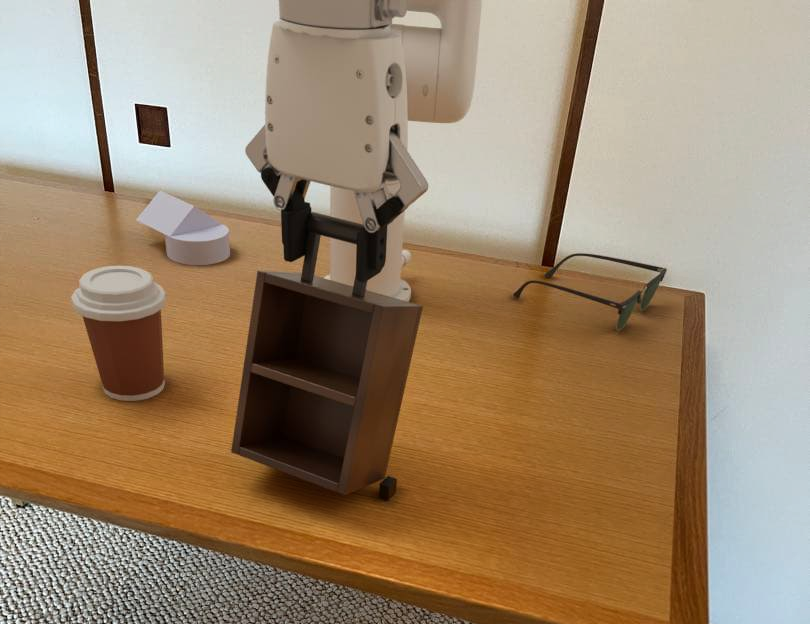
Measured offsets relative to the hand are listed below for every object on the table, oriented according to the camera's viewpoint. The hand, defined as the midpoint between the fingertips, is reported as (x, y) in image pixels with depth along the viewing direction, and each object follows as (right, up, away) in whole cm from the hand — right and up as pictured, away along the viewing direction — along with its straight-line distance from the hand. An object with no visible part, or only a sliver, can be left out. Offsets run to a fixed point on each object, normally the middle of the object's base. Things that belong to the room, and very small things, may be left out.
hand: (333, 264), depth 66 cm
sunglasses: (+31, +11, +48) cm, 58 cm away
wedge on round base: (-26, +20, +54) cm, 63 cm away
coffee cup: (-24, -6, +22) cm, 33 cm away
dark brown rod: (-2, -16, +12) cm, 20 cm away
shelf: (+1, -5, +8) cm, 9 cm away
